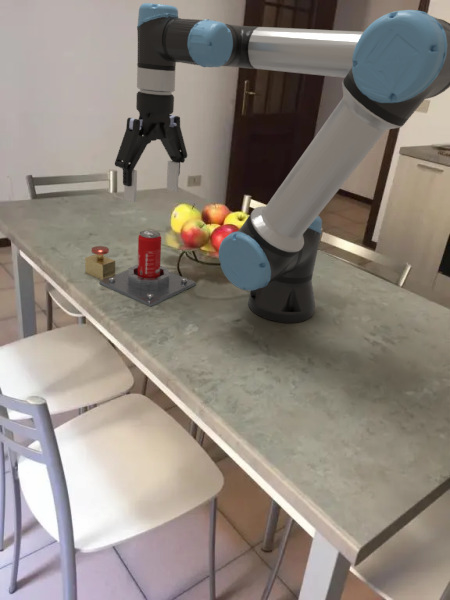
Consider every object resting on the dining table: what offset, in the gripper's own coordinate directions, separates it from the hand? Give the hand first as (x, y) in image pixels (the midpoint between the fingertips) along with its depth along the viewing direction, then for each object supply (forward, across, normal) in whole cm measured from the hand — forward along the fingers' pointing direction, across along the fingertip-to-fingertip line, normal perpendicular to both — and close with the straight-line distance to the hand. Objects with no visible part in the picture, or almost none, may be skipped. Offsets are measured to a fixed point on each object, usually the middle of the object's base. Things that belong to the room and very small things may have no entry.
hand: (152, 195), depth 114 cm
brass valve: (+22, +4, -12) cm, 25 cm away
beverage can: (+21, 0, 0) cm, 21 cm away
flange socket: (+22, 0, 0) cm, 22 cm away
